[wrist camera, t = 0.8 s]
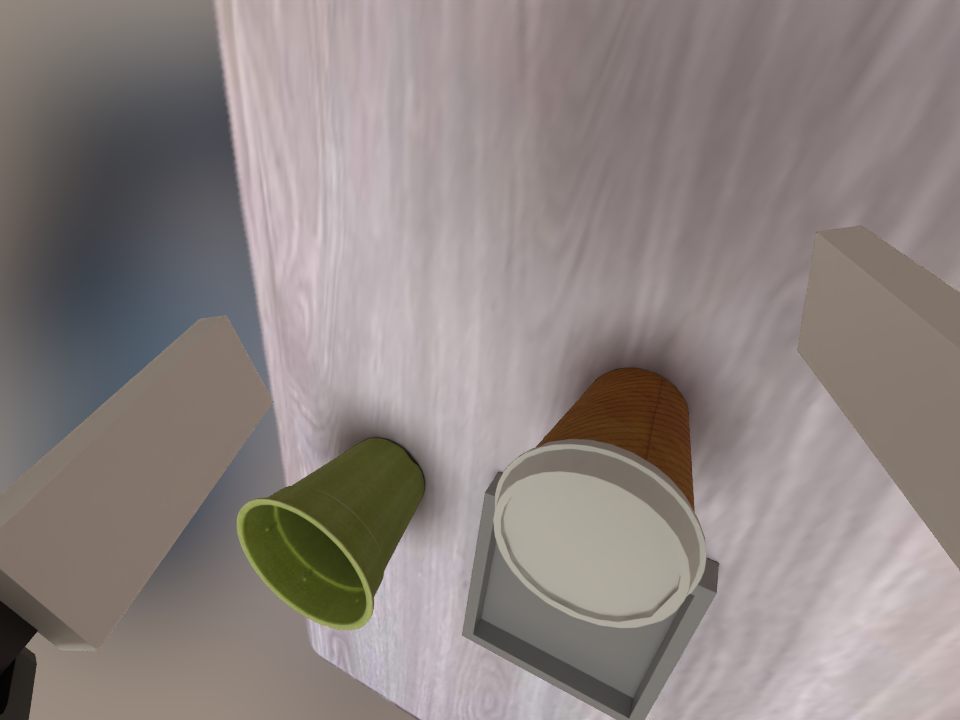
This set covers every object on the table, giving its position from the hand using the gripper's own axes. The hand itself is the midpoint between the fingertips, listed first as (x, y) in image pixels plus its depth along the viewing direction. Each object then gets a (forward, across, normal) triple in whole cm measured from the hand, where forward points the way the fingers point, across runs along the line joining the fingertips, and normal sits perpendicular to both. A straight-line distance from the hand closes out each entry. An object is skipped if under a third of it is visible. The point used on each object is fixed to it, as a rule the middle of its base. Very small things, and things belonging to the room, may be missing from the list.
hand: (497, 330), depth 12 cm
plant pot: (+20, -16, -24) cm, 35 cm away
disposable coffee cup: (+15, +5, -16) cm, 22 cm away
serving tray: (+14, -1, -33) cm, 35 cm away
